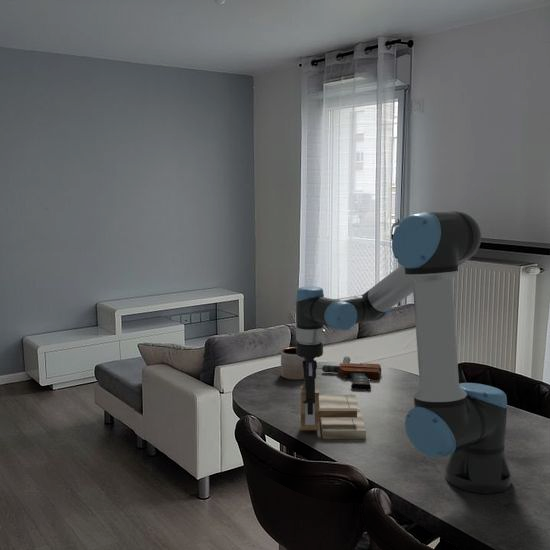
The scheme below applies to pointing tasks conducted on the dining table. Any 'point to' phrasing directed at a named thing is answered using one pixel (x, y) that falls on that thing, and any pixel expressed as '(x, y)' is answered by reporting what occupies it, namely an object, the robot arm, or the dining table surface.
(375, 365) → the tool
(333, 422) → the board
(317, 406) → the brown block with tab
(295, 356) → the planter
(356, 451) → the dining table surface
